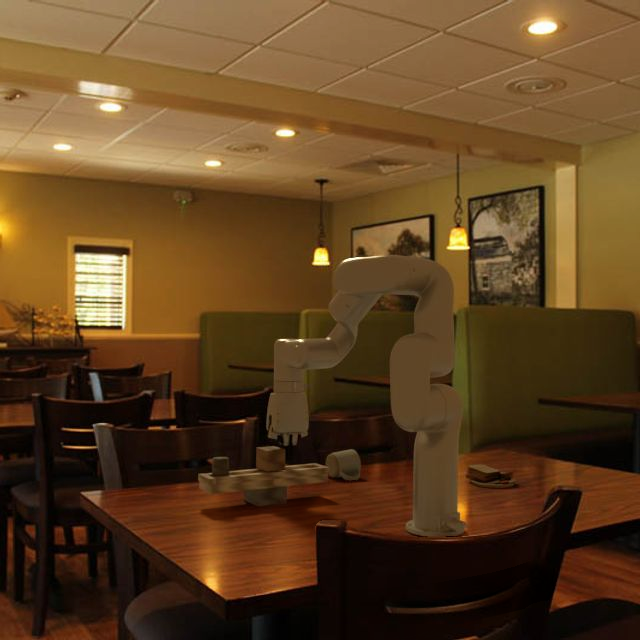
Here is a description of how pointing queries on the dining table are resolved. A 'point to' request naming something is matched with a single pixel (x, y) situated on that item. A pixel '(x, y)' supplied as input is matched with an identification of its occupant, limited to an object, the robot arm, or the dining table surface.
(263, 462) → the block
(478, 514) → the dining table surface
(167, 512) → the dining table surface
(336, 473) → the ceramic mug
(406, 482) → the dining table surface
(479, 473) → the toy sandwich meal
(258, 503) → the beam
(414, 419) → the robot arm
